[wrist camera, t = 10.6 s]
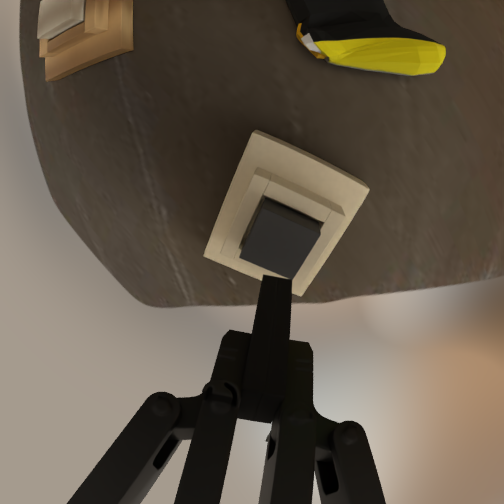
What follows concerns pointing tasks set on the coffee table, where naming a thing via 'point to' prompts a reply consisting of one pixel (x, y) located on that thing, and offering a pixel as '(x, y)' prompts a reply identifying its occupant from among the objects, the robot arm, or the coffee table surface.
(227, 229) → the key block
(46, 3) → the ivory key
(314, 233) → the black key
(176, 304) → the coffee table surface
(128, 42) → the key block
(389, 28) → the gaming controller
